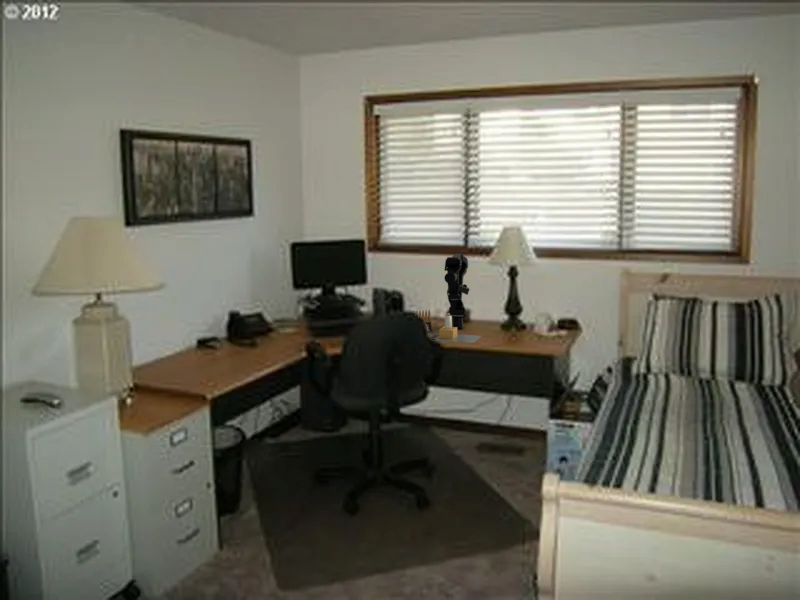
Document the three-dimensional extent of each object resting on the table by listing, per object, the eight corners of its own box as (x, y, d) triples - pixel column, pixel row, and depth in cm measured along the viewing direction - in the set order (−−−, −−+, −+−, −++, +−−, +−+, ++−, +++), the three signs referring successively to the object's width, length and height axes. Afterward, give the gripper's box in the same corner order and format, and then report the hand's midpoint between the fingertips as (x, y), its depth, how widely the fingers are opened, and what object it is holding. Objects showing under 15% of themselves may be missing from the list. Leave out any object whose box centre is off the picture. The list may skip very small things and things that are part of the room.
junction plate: (441, 335, 372) (441, 324, 371) (481, 337, 364) (481, 327, 363) (431, 341, 357) (431, 331, 356) (473, 344, 349) (473, 334, 348)
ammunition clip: (413, 332, 379) (412, 311, 377) (412, 332, 381) (411, 310, 378) (431, 331, 382) (431, 309, 380) (430, 330, 384) (430, 308, 382)
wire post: (446, 335, 365) (446, 312, 363) (452, 336, 364) (452, 312, 362) (444, 337, 362) (444, 313, 360) (450, 337, 361) (450, 314, 359)
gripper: (469, 283, 360) (469, 313, 363) (467, 278, 378) (467, 306, 381) (447, 283, 360) (448, 313, 363) (446, 278, 379) (447, 306, 382)
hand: (453, 309), depth 372 cm, fingers open, 9 cm apart
